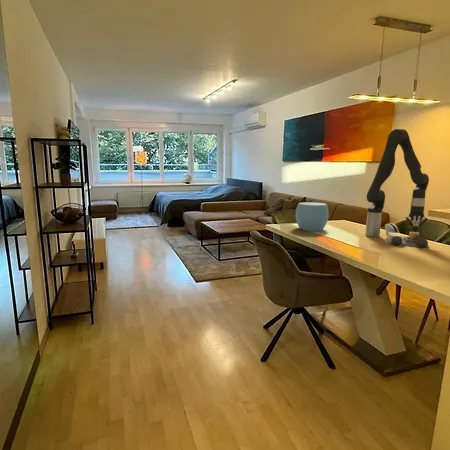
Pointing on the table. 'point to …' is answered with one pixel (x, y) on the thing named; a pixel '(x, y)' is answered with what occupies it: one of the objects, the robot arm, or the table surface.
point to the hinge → (391, 228)
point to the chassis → (405, 240)
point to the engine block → (413, 235)
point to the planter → (312, 216)
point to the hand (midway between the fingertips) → (414, 231)
